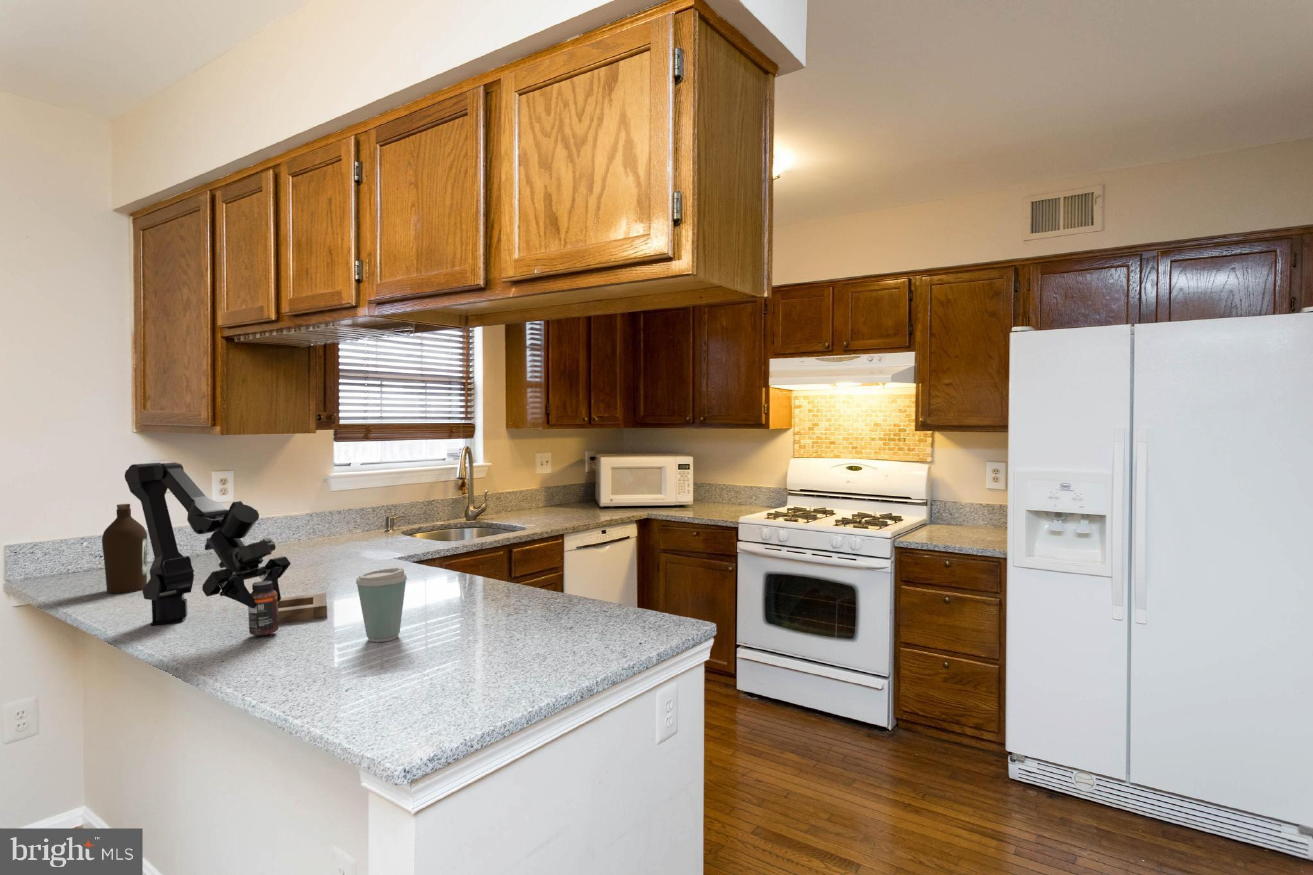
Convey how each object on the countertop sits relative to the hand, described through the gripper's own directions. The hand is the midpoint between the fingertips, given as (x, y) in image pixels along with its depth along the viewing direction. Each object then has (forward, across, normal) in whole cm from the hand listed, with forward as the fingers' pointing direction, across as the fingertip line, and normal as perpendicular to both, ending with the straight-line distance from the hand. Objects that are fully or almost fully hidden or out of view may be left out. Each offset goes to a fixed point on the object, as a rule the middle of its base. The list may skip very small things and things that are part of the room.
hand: (267, 603), depth 163 cm
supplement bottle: (+4, 0, +6) cm, 7 cm away
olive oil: (-50, +18, +62) cm, 82 cm away
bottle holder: (-1, +15, +12) cm, 19 cm away
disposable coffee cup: (+24, +8, -13) cm, 28 cm away
